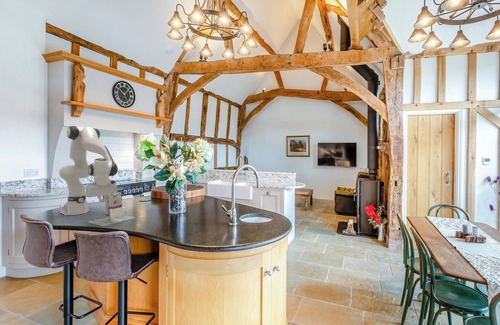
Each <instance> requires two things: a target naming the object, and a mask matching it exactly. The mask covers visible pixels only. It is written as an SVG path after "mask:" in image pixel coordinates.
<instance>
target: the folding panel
mask: <svg viewBox="0 0 500 325" xmlns="http://www.w3.org/2000/svg"><path fill="white" fill-rule="evenodd" d="M109 217H110V219H111V222H113V212H112V210H110V215H109Z"/></svg>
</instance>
